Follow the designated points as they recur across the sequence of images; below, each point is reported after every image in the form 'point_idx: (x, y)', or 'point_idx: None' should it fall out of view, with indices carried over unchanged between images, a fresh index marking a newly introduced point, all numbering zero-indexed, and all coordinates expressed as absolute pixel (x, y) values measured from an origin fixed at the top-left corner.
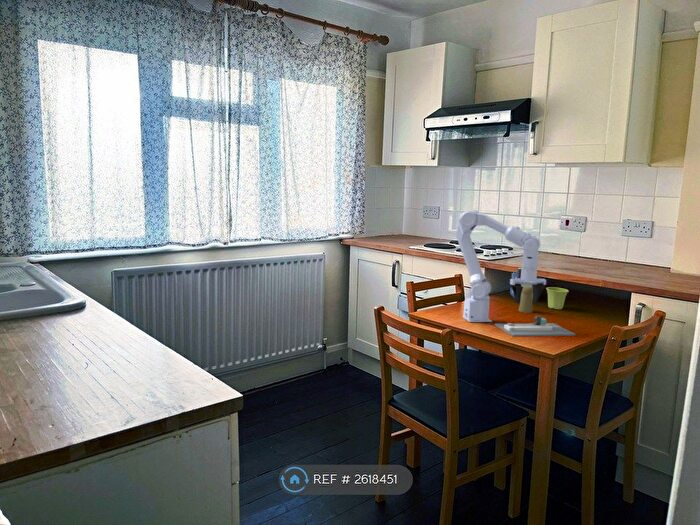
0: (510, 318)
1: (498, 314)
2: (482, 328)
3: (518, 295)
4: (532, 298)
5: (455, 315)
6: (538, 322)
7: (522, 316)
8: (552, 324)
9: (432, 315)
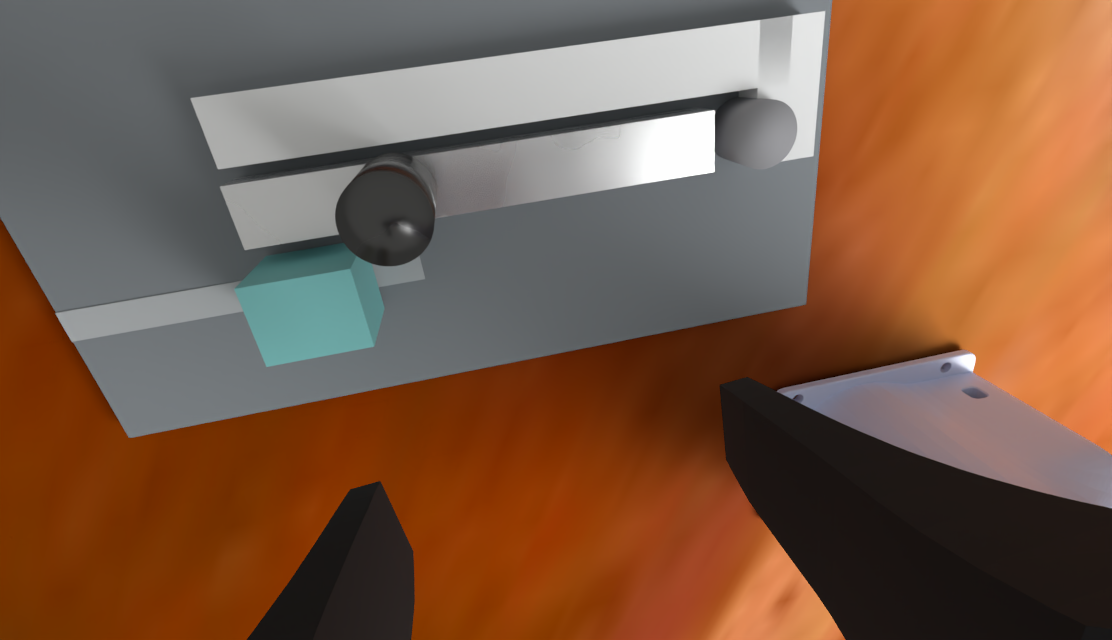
0: (542, 542)
1: (599, 623)
2: (974, 159)
3: (893, 447)
4: (411, 619)
5: None
6: (395, 158)
7: None
8: (150, 386)
9: None
